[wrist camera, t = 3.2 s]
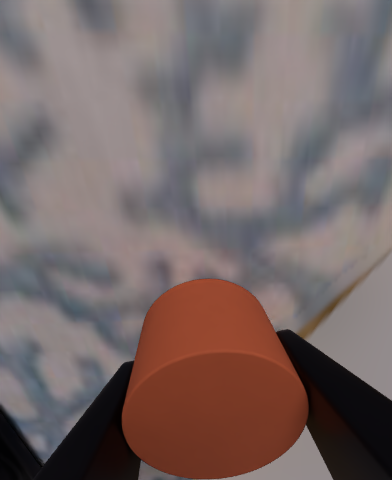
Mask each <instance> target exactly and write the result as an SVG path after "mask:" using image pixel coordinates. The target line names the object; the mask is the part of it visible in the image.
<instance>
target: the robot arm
mask: <svg viewBox="0 0 392 480" xmlns="http://www.w3.org/2000/svg"><path fill="white" fill-rule="evenodd" d="M276 334H277V336H278V338H279V340H280V342H281V344H282V345H283V347H284V349H285V351H286V353H287V355H288V357H289V359H290V361H291V363H292V365H293V367H294V368H295V370H296V372H297V374H298V376H299V378H300V380H301V382H302V384H303V386H304V388H305V391H306V393H307V397H308V403H309V414H308V419H307V423H306V426H307V428H308V429H309V432H310V433H311V436H312V438H313V440H314V441H315V443H316V446H317V447H318V449H319V452H320V454H321V456H322V457H323V460H324V461H325V464H326V465H327V468H328V470H329V471H330V474H331V476H332V478H333V480H392V401H391V400H390V399H388V398H387V397H386V396H384V395H383V394H381V393H380V392H378V391H377V390H376V389H374V388H373V387H371V386H370V385H368V384H367V383H365V382H364V381H362V380H361V379H360V378H358V377H357V376H355V375H354V374H353V373H351V372H350V371H348V370H347V369H346V368H344V367H343V366H341V365H340V364H338V363H337V362H335V361H334V360H333V359H331V358H330V357H328V356H327V355H325V354H324V353H323V352H321V351H320V350H318V349H317V348H315V347H314V346H312V345H311V344H310V343H308V342H307V341H305V340H304V339H303V338H301V337H300V336H298V335H297V334H295V333H294V332H292V331H291V330H289V329H286V330H281V331H277V332H276ZM133 365H134V361H130V362H125V363H123V364H122V365H121V367H120V368H119V369H118V371H117V372H116V373H115V374H114V376H113V377H112V378H111V380H110V381H109V382H108V383H107V385H106V386H105V387H104V389H103V390H102V391H101V392H100V394H99V395H98V396H97V398H96V399H95V400H94V401H93V403H92V404H91V405H90V407H89V408H88V409H87V410H86V412H85V413H84V414H83V416H82V417H81V418H80V419H79V421H78V422H77V423H76V425H75V426H74V427H73V428H72V430H71V431H70V432H69V433H68V435H67V436H66V437H65V439H64V440H63V441H62V442H61V444H60V445H59V446H58V448H57V449H56V450H55V451H54V453H53V454H52V455H51V457H50V458H49V459H48V460H47V462H46V463H45V464H44V466H43V467H42V468H41V467H40V466H39V464H38V463H37V461H36V460H35V459H34V457H33V456H32V455H31V453H30V452H29V451H28V449H27V448H26V447H25V445H24V444H23V443H22V441H21V440H20V438H19V437H18V436H17V434H16V433H15V432H14V430H13V429H12V428H11V426H10V425H9V424H8V422H7V421H6V420H5V418H4V417H3V415H2V414H1V413H0V480H138V477H139V470H140V463H141V459H140V458H139V457H138V456H137V455H136V454H135V453H134V452H133V451H132V449H131V448H130V447H129V445H128V443H127V442H126V439H125V437H124V434H123V429H122V411H123V406H124V402H125V398H126V394H127V390H128V386H129V381H130V377H131V373H132V369H133Z"/></svg>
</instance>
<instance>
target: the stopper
mask: <svg viewBox="0 0 392 480" xmlns="http://www.w3.org/2000/svg"><path fill="white" fill-rule="evenodd" d="M308 414H309V403H308V397H307V393H306V391H305V388H304V386H303V384H302V382H301V380H300V378H299V376H298V374H297V372H296V370H295V368H294V367H293V365H292V363H291V361H290V359H289V357H288V355H287V353H286V351H285V349H284V347H283V345H282V344H281V342H280V340H279V338H278V336H277V334H276V332H275V330H274V328H273V326H272V324H271V322H270V320H269V319H268V317H267V315H266V313H265V311H264V309H263V307H262V306H261V304H260V302H259V301H258V300H257V299H256V298H255V296H253V295H252V294H251V293H250V292H249V291H247V290H246V289H244V288H243V287H241V286H239V285H236V284H234V283H231V282H228V281H224V280H219V279H199V280H192V281H189V282H185V283H182V284H180V285H177V286H175V287H173V288H171V289H170V290H168V291H167V292H165V293H164V294H162V295H161V296H160V297H159V298H158V299H157V300H156V301H155V302H154V303H153V305H152V306H151V307H150V309H149V311H148V312H147V314H146V317H145V320H144V323H143V327H142V332H141V336H140V340H139V344H138V348H137V352H136V356H135V361H134V365H133V369H132V373H131V377H130V381H129V386H128V390H127V394H126V398H125V402H124V406H123V411H122V429H123V434H124V437H125V439H126V442H127V443H128V445H129V447H130V448H131V449H132V451H133V452H134V453H135V454H136V455H137V456H138V457H139V458H140V459H141V460H143V461H144V462H145V463H147V464H148V465H150V466H152V467H154V468H156V469H158V470H160V471H162V472H165V473H168V474H171V475H175V476H178V477H184V478H191V479H221V478H227V477H233V476H237V475H241V474H245V473H248V472H251V471H254V470H256V469H259V468H261V467H263V466H265V465H267V464H269V463H271V462H272V461H274V460H275V459H277V458H279V457H280V456H281V455H282V454H284V453H285V452H286V451H287V450H288V449H289V448H290V447H292V446H293V445H294V443H295V442H296V441H297V439H298V438H299V437H300V435H301V433H302V432H303V430H304V427H305V425H306V423H307V419H308Z"/></svg>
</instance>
